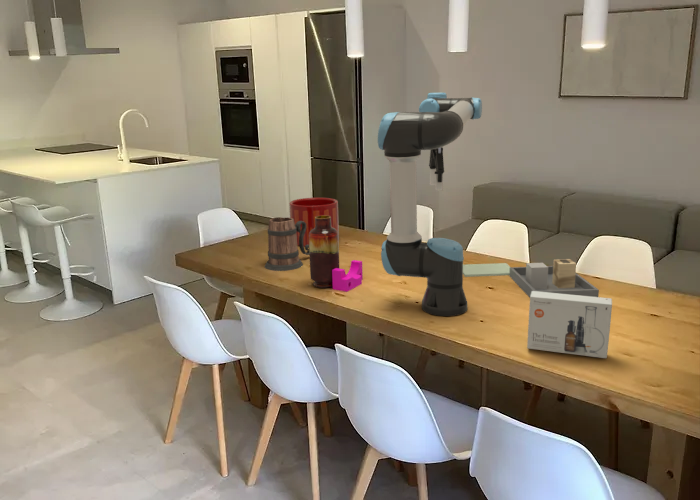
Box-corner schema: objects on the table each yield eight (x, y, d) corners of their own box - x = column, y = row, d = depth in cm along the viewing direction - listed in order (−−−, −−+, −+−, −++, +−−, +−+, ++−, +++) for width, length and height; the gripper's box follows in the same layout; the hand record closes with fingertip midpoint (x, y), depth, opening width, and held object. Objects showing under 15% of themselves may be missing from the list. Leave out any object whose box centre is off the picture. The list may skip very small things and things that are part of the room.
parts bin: (598, 299, 214) (598, 289, 213) (534, 302, 213) (534, 292, 213) (565, 274, 243) (566, 265, 242) (509, 276, 242) (509, 267, 242)
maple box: (574, 287, 225) (576, 263, 223) (558, 288, 225) (559, 263, 223) (568, 282, 231) (570, 258, 229) (552, 283, 231) (553, 259, 229)
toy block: (346, 291, 230) (346, 272, 228) (332, 289, 233) (332, 269, 231) (368, 280, 242) (367, 262, 240) (354, 278, 245) (353, 260, 243)
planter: (320, 251, 287) (319, 207, 282) (281, 245, 299) (279, 203, 294) (348, 240, 305) (347, 199, 300) (310, 235, 318) (308, 196, 313)
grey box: (547, 288, 225) (548, 267, 223) (530, 289, 225) (531, 267, 223) (541, 283, 231) (542, 262, 229) (525, 284, 231) (526, 263, 229)
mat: (516, 275, 244) (516, 272, 243) (465, 277, 243) (465, 274, 243) (506, 265, 257) (506, 263, 257) (457, 267, 256) (457, 264, 256)
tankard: (279, 273, 253) (276, 225, 248) (255, 266, 266) (252, 219, 261) (324, 262, 268) (322, 216, 263) (300, 255, 281) (298, 211, 276)
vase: (307, 282, 242) (304, 215, 235) (334, 278, 245) (332, 212, 239) (315, 290, 232) (313, 221, 225) (343, 286, 235) (342, 218, 229)
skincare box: (526, 349, 176) (529, 295, 172) (528, 342, 181) (531, 289, 177) (607, 359, 168) (612, 303, 164) (607, 351, 173) (612, 297, 169)
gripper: (452, 135, 232) (451, 192, 237) (440, 131, 256) (440, 182, 261) (432, 136, 231) (431, 193, 237) (422, 131, 256) (422, 183, 261)
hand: (436, 187), depth 249 cm, fingers open, 13 cm apart
